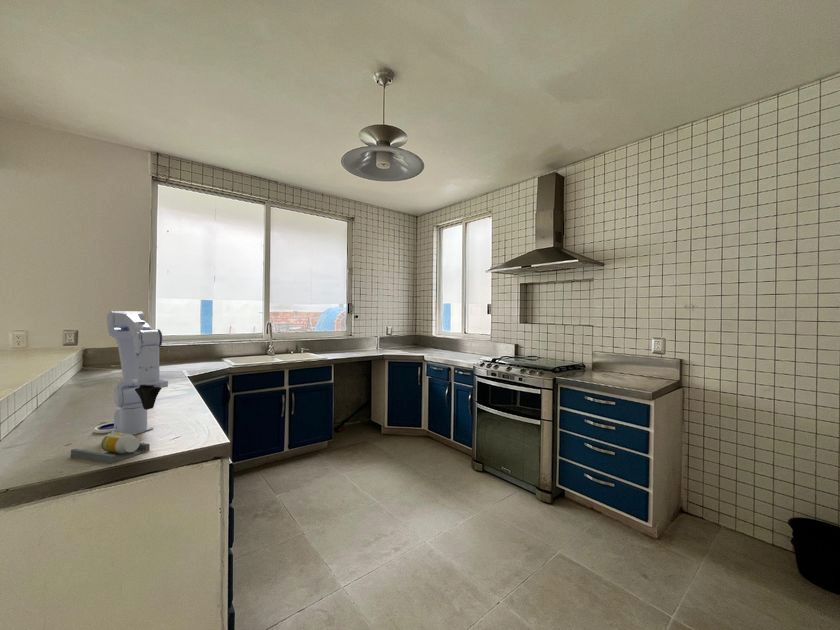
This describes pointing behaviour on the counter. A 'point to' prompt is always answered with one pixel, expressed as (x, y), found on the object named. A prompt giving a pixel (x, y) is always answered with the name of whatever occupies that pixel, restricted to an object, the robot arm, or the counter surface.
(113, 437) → the supplement bottle
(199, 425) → the counter surface
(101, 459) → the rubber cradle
